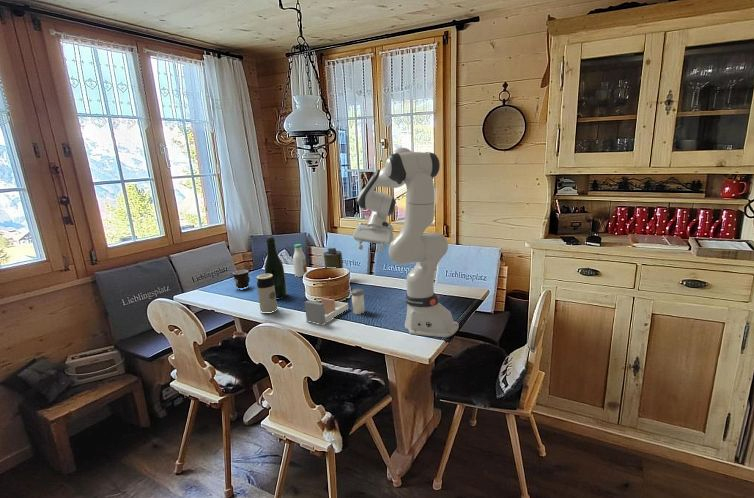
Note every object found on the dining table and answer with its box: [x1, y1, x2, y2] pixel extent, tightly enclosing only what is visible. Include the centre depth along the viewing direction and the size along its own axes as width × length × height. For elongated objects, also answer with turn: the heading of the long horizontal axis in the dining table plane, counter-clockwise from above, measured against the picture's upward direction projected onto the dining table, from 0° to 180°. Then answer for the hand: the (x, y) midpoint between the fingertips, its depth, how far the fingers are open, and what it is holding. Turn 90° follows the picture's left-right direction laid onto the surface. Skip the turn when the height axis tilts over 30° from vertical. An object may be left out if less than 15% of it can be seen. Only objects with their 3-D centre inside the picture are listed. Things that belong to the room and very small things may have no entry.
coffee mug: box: [232, 269, 251, 288], centre depth 233 cm, size 12×9×10 cm
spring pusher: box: [320, 297, 335, 314], centre depth 187 cm, size 7×1×7 cm, turn 59°
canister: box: [323, 247, 344, 269], centre depth 235 cm, size 11×10×20 cm
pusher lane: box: [304, 300, 350, 325], centre depth 186 cm, size 9×20×10 cm, turn 149°
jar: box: [350, 288, 366, 315], centre depth 188 cm, size 6×6×11 cm
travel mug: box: [256, 273, 278, 312], centre depth 195 cm, size 8×8×18 cm
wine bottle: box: [264, 235, 288, 298], centre depth 213 cm, size 10×10×33 cm
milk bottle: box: [292, 243, 308, 278], centre depth 251 cm, size 8×8×20 cm
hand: (369, 250), depth 198 cm, fingers open, 8 cm apart
